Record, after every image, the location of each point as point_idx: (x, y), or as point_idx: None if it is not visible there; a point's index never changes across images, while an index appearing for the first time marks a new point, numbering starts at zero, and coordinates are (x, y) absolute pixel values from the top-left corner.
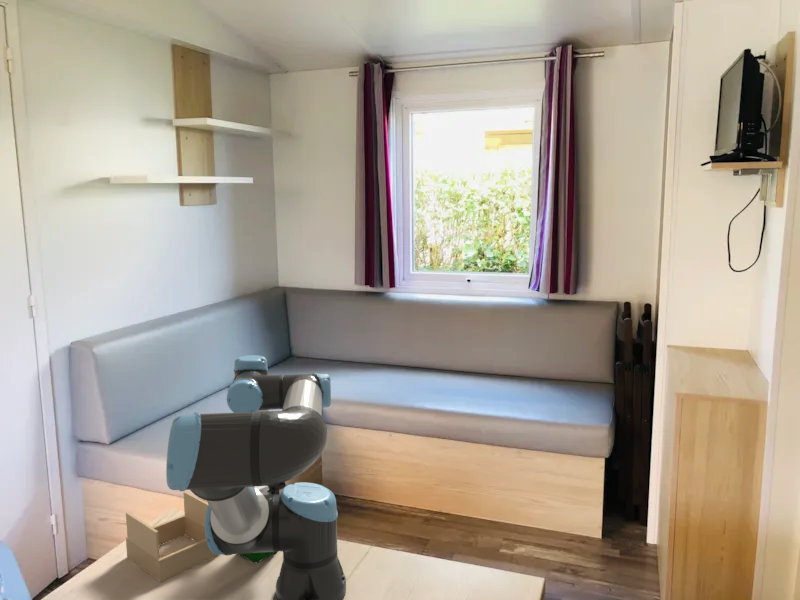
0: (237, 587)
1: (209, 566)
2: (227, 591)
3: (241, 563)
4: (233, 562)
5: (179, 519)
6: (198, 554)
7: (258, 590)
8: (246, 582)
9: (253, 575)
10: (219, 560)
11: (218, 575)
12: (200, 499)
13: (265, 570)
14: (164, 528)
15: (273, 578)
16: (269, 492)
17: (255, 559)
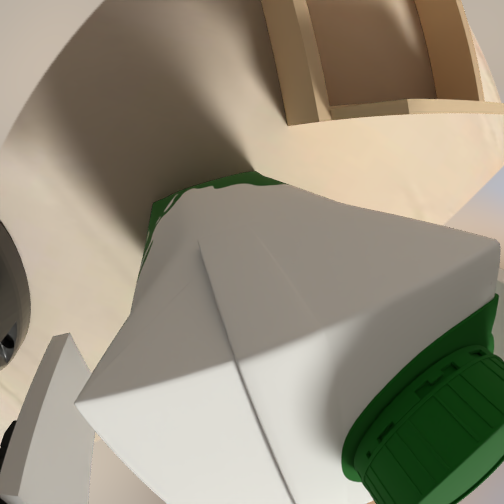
0: (57, 101)
1: (235, 64)
2: (57, 69)
3: (183, 159)
4: (207, 138)
5: (474, 88)
6: (283, 35)
7: (10, 156)
8: (64, 135)
9: (88, 168)
10: (250, 105)
11: (160, 68)
12: (501, 112)
13: (94, 214)
14: (457, 40)
15: (41, 219)
16: (2, 486)
17: (153, 204)
